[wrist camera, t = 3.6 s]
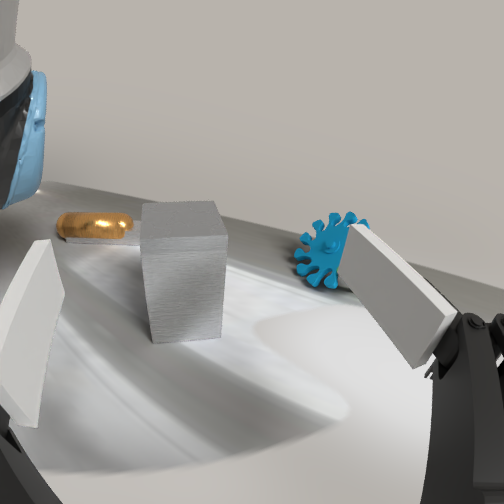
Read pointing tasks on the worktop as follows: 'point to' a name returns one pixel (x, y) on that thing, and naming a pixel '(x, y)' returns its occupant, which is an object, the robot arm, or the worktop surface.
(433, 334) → the robot arm
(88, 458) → the worktop surface
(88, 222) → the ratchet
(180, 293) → the brushed metal block
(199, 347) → the worktop surface
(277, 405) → the worktop surface
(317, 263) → the gear
